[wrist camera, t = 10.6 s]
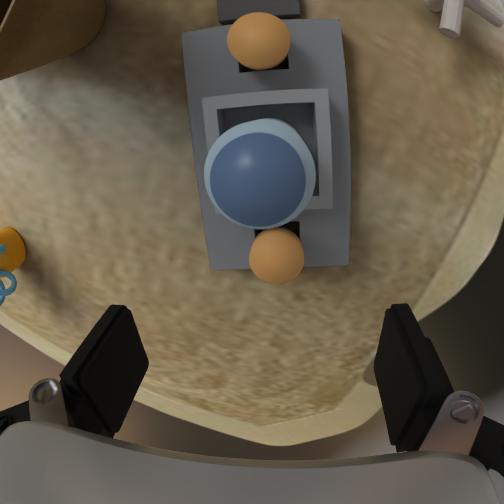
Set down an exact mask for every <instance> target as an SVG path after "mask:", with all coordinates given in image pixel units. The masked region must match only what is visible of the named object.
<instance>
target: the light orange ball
mask: <svg viewBox="0 0 504 504" xmlns="http://www.w3.org/2000/svg"><path fill="white" fill-rule="evenodd" d="M227 45H228V48H229V50H230V52H231V54H232V55H233V56H234V58H235V59H236V60H237V61H238V62H239V63H241V64H242V65H244V66H245V67H248V68H250V69H255V70H266V69H270V68H273V67H275V66H277V65H278V64H280V63H281V62H282V61H283V60H284V59H285V58H286V56H287V55H288V52H289V49H290V33H289V30H288V28H287V26H286V25H285V23H284V22H283V21H282V20H280V19H279V18H278V17H276V16H274V15H272V14H268V13H263V12H255V13H250V14H247V15H244V16H242V17H240V18H239V19H238V20H236V21H235V22H234V23H233V25H232V26H231V28H230V29H229V32H228V35H227Z"/></svg>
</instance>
